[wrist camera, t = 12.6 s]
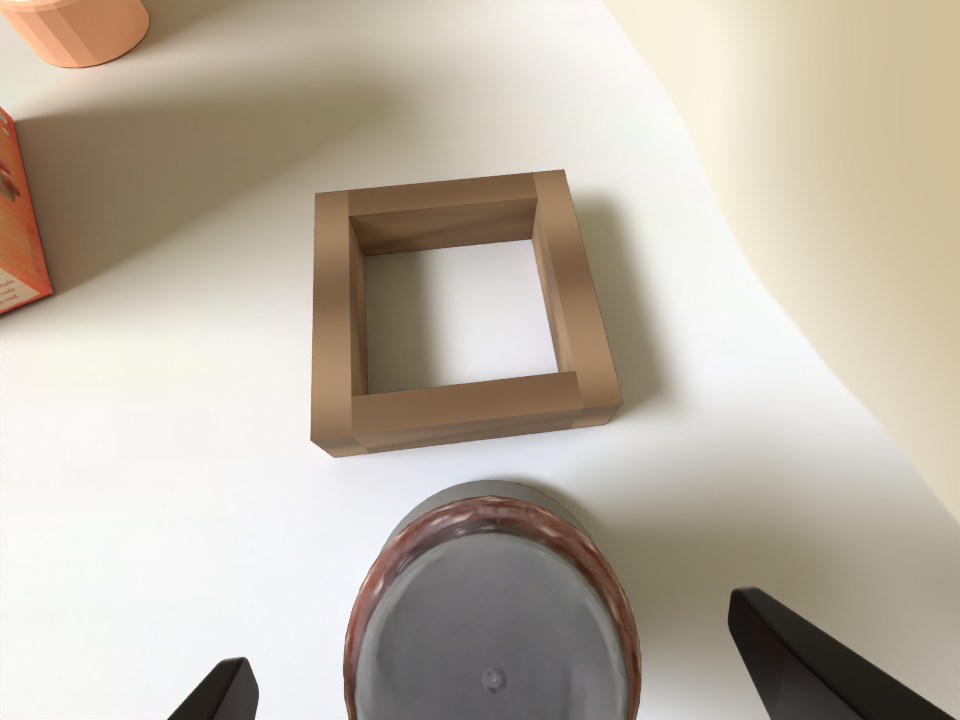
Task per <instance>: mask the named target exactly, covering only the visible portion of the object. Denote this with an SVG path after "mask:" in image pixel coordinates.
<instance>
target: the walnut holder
mask: <svg viewBox="0 0 960 720" xmlns="http://www.w3.org/2000/svg"><path fill="white" fill-rule="evenodd" d="M524 239H532V242H533V247H534V252H535V257H536V262H537V267H538V272H539V277H540V282H541V287H542V292H543V297H544V302H545V307H546V312H547V317H548V322H549V327H550V332H551V336H552V341H553V346H554V351H555V356H556V361H557V366H558V371H559V373H552V374H543V375H535V376H526V377H517V378H509V379H500V380H491V381H483V382H474V383H466V384H457V385H448V386H440V387H431V388H422V389H414V390H405V391H396V392H388V393H379V394H370V395H368V383H367V351H366V318H365V285H364V256H368V255H378V254H388V253H397V252H407V251H417V250H427V249H436V248H446V247H456V246H465V245H475V244H485V243H495V242H504V241H514V240H524ZM622 404H623V401H622V397H621V393H620V389H619V385H618V381H617V377H616V373H615V369H614V365H613V361H612V357H611V353H610V349H609V345H608V341H607V337H606V333H605V329H604V325H603V321H602V317H601V313H600V309H599V305H598V302H597V298H596V294H595V290H594V286H593V282H592V278H591V274H590V270H589V266H588V262H587V258H586V254H585V250H584V246H583V242H582V238H581V234H580V230H579V226H578V222H577V218H576V214H575V210H574V206H573V202H572V198H571V194H570V190H569V187H568V183H567V179H566V175H565V171H564V169H562V170H552V171H542V172H531V173H521V174H511V175H500V176H490V177H480V178H469V179H459V180H449V181H438V182H428V183H417V184H407V185H397V186H386V187H376V188H366V189H355V190H345V191H335V192H324V193H315V228H314V281H313V334H312V386H311V439H310V440H311V441H312V442H313V443H315V444H316V445H317V446H319V447H320V448H321V449H323V450H324V451H326V452H327V453H328V454H330V455H331V456H332V457H334V458H336V457H344V456H352V455H360V454H369V453H377V452H385V451H393V450H402V449H410V448H418V447H427V446H435V445H443V444H451V443H460V442H468V441H476V440H484V439H493V438H501V437H509V436H518V435H526V434H534V433H542V432H551V431H559V430H567V429H575V428H584V427H592V426H600V425H605V424H606V423H607V421H608V420H609V419H610V418H611V417H612V416H613V414H614V413H615V412H616V411H617V410H618V408H619V407H620V406H621V405H622Z"/></svg>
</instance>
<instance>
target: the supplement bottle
mask: <svg viewBox="0 0 960 720" xmlns="http://www.w3.org/2000/svg"><path fill="white" fill-rule="evenodd" d="M343 676H344V699H345V703H346V707H347V712H348V717H349V720H636V718H637V713H638V708H639V703H640V692H641V652H640V643H639V638H638V634H637V629H636V624H635V621H634V617H633V614H632V611H631V608H630V605H629V602H628V599H627V597H626V595H625V592H624V590H623V588H622V586H621V585H620V583H619V581H618V579H617V577H616V575H615V573H614V571H613V570H612V568H611V566H610V565H609V564H608V562H607V561H606V560H605V558H604V557H603V556H602V554H601V553H600V552H599V550H598V549H597V548H596V547H595V545H594V544H593V543H592V542H591V541H590V540H589V539H588V537H586V536H585V535H584V534H583V533H582V532H581V531H580V530H578V529H577V528H576V527H574V526H573V525H572V524H571V523H569V522H567V521H566V520H564V519H563V518H561V517H559V516H558V515H556V514H554V513H553V512H551V511H550V510H548V509H546V508H543V507H541V506H539V505H535V504H532V503H531V502H526V501H522V500H519V499H514V498H509V497H500V496H495V495H488V496H480V497H471V498H464V499H461V500H457V501H452V502H450V503H448V504H445V505H442V506H440V507H436V508H434V509H432V510H431V511H429V512H427V513H425V514H423V515H422V516H420V517H418V518H417V519H416V520H414V521H413V522H411V523H409V524H408V525H407V526H406V527H405V528H404V529H403V530H402V531H400V532H399V533H398V534H397V535H396V536H395V537H394V538H393V539H392V541H391V542H390V543H389V544H388V546H387V547H386V548H385V549H384V550H383V551H382V552H381V554H380V555H379V556H378V558H377V559H376V561H375V562H374V563H373V565H372V566H371V568H370V570H369V572H368V574H367V576H366V578H365V580H364V581H363V583H362V585H361V587H360V590H359V593H358V595H357V598H356V600H355V603H354V606H353V608H352V611H351V616H350V620H349V623H348V628H347V633H346V636H345V647H344V663H343Z"/></svg>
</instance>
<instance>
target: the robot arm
mask: <svg viewBox="0 0 960 720" xmlns="http://www.w3.org/2000/svg"><path fill="white" fill-rule="evenodd" d="M728 626H729V630H730V633H731V635H732V637H733V640H734V642H735V644H736V646H737V648H738V650H739V653H740V655H741V657H742V659H743V661H744V663H745V666H746V668H747V670H748V672H749V674H750V676H751V678H752V681H753V683H754V685H755V687H756V689H757V691H758V694H759V696H760V698H761V700H762V702H763V704H764V707H765V709H766V711H767V713H768V715H769V717H770V719H771V720H956V719H955V718H953V717H952V716H950V715H949V714H947V713H946V712H944V711H943V710H941V709H940V708H938V707H937V706H935V705H934V704H932V703H931V702H929V701H928V700H926V699H925V698H923V697H922V696H920V695H919V694H917V693H916V692H914V691H913V690H911V689H910V688H908V687H907V686H905V685H904V684H902V683H901V682H899V681H898V680H896V679H895V678H893V677H892V676H890V675H889V674H887V673H886V672H884V671H883V670H881V669H880V668H878V667H877V666H875V665H874V664H872V663H871V662H869V661H868V660H866V659H865V658H863V657H862V656H860V655H859V654H857V653H856V652H854V651H853V650H851V649H850V648H848V647H847V646H845V645H844V644H842V643H841V642H839V641H838V640H836V639H835V638H833V637H832V636H830V635H829V634H827V633H826V632H824V631H823V630H821V629H820V628H818V627H817V626H815V625H814V624H812V623H811V622H809V621H808V620H806V619H804V618H803V617H801V616H800V615H798V614H797V613H795V612H794V611H792V610H791V609H789V608H788V607H786V606H785V605H783V604H782V603H780V602H779V601H777V600H776V599H774V598H773V597H771V596H770V595H768V594H767V593H765V592H764V591H762V590H761V589H759V588H757V587H754V586H748V587H741V588H735V589H734V590H733V591H732V593H731V598H730V606H729V613H728ZM258 700H259V689H258V685H257V682H256V679H255V677H254V674H253V671H252V669H251V666H250V663H249V661H248V659H246V658H245V657H237V658H230V659H225V660H222V661H221V662H219V663H218V664H217V665H216V666H215V667H214V668H213V669H212V671H211V672H210V673H209V674H208V675H207V676H206V677H205V678H204V679H203V680H202V682H201V683H200V684H199V685H198V686H197V687H196V688H195V689H194V690H193V691H192V693H191V694H190V695H189V696H188V697H187V698H186V699H185V700H184V701H183V703H182V704H181V705H180V706H179V707H178V708H177V709H176V710H175V711H174V712H173V714H172V715H171V716H170V717H169V718H168V719H167V720H255V715H256V710H257V705H258Z"/></svg>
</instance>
